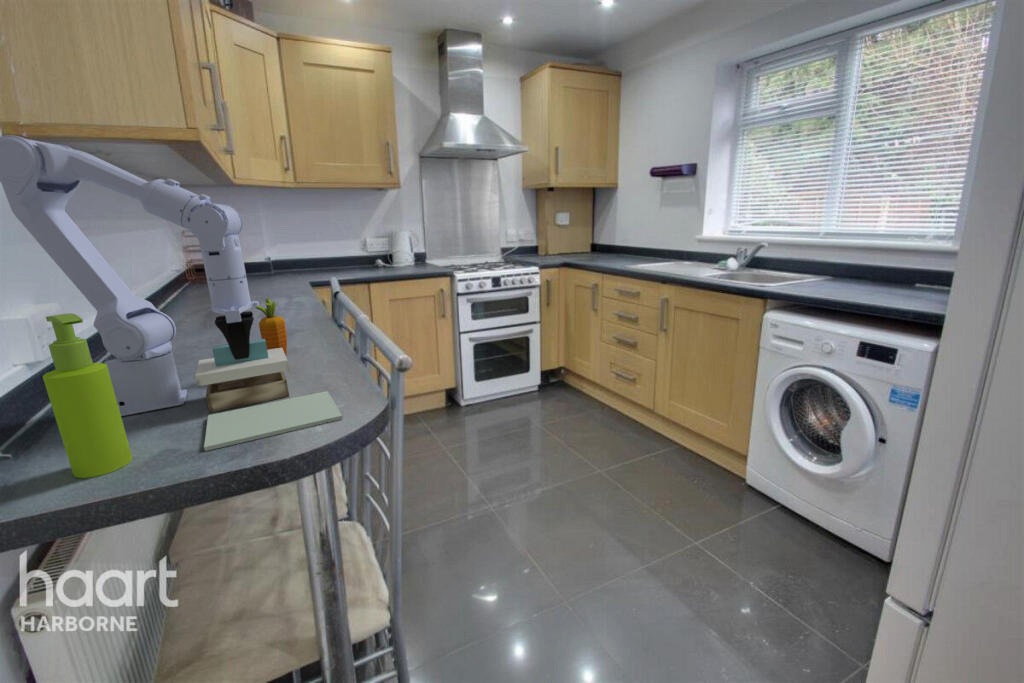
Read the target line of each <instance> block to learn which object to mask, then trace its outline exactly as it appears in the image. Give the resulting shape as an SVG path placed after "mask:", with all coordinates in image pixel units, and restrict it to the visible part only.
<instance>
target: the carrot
mask: <svg viewBox="0 0 1024 683" xmlns="http://www.w3.org/2000/svg"><path fill="white" fill-rule="evenodd" d="M264 301H265V306H266V308H264V307H262V306H260V305H259V306H255V309H257V310H259V311H261V312H262V313H263V314H264V316H265V317H262V318H261V319H260V320H259V323H258V326H259V331H260V337H261V339H265V341H266V346H267V350H269V349H276V348H283V351H284V353H285V355H286V356H287V352H288V351H287V350H288V335H287V328H286V322H285V319H284V318H283V317H282V316H280V315H275V312H276V308H277V307H276V306H277V303H276V301H271V299H270V298H265V299H264Z"/></svg>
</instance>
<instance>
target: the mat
mask: <svg viewBox="0 0 1024 683" xmlns="http://www.w3.org/2000/svg"><path fill="white" fill-rule="evenodd" d="M341 420H343V415H342V413H341V411H340V410H339V408H338V406H337V405H336V403H335V401H334V399H333V398H332V396H331V394H330V392H329V391H328V390H326V391H321V392H316V393H311V394H307V395H301V396H297V397H291V398H287V399H286V398H285V399H280V400H277V401H272V402H267V403H261V404H257V405H256V404H255V405H252V406H248V407H242V408H237V409H233V410H227V411H223V412H216V413H211V414H208V415H207V420H206V429H205V437H204V445H203V450H204V452H207V451H212V450H215V449H216V450H217V449H220V448H221V449H222V448H225V447H228V446H233V445H237V444H243V443H246V442H250V441H256V440H258V439H259V440H260V439H263V438H268V437H272V436H276V435H277V436H278V435H280V434H284V433H289V431H290V432H293V431H298V430H302V428H303V429H306V427H307V428H310V427H315V425H316V426H319V424H320V425H324V424H327V423H326V422H328V423H331V422H332V421H333V422H336V421H341ZM323 423H324V424H323Z"/></svg>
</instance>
